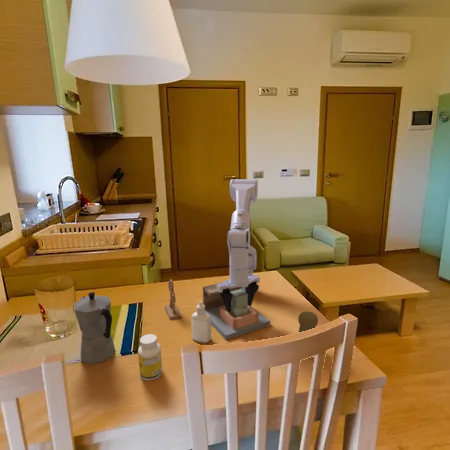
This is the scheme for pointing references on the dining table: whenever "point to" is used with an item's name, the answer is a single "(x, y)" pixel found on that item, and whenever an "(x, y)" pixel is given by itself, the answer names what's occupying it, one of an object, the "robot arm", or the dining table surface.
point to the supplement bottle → (149, 357)
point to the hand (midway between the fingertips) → (238, 307)
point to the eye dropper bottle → (201, 324)
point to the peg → (239, 303)
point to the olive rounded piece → (307, 320)
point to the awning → (213, 296)
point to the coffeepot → (95, 328)
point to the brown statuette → (172, 304)
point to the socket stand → (236, 321)
